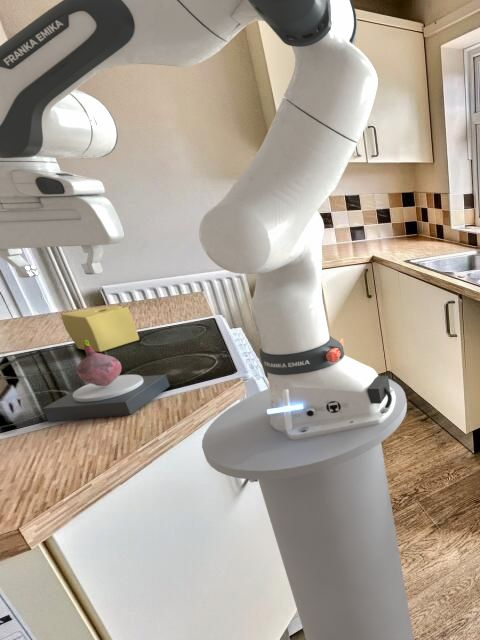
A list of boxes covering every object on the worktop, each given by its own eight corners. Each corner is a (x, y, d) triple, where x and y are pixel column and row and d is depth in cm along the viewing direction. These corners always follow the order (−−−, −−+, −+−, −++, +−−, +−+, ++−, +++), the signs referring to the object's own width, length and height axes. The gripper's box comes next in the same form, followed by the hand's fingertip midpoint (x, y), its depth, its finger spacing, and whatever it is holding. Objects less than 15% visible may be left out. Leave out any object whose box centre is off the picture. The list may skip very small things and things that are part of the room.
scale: (170, 386, 91) (164, 371, 89) (130, 414, 80) (123, 398, 78) (98, 391, 89) (92, 376, 88) (48, 421, 78) (39, 404, 77)
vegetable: (78, 391, 82) (57, 343, 78) (116, 377, 87) (98, 332, 83) (95, 396, 79) (74, 347, 76) (133, 382, 85) (115, 335, 81)
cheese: (118, 336, 123) (105, 303, 119) (142, 340, 119) (130, 306, 116) (74, 349, 114) (58, 314, 110) (99, 353, 110) (84, 317, 107)
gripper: (-80, 186, 59) (-32, 283, 64) (81, 182, 61) (116, 275, 66) (-32, 186, 65) (9, 274, 70) (113, 182, 67) (143, 268, 72)
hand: (62, 275), depth 68 cm, fingers open, 8 cm apart
